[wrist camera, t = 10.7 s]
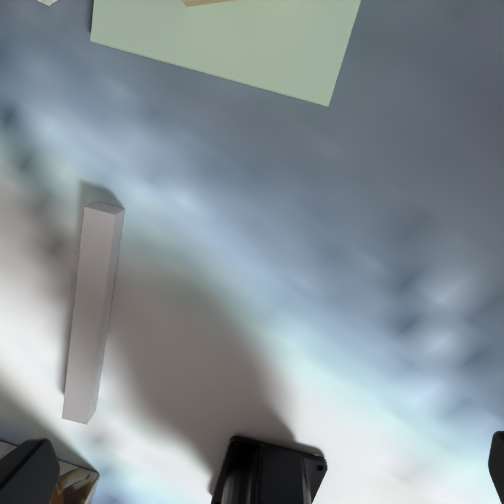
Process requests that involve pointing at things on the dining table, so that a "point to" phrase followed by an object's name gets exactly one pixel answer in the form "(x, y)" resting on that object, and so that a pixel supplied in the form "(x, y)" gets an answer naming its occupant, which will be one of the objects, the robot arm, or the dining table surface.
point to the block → (201, 2)
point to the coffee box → (68, 482)
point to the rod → (91, 308)
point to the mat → (237, 39)
